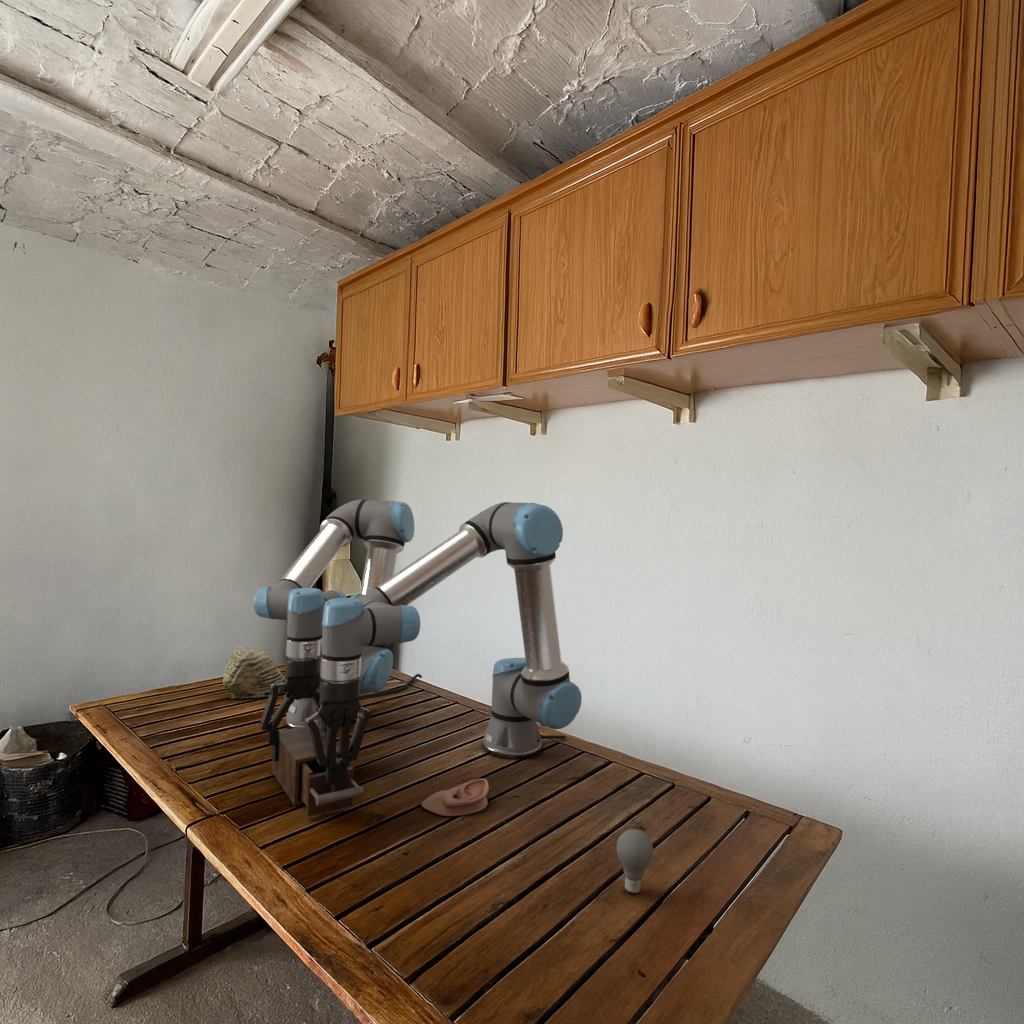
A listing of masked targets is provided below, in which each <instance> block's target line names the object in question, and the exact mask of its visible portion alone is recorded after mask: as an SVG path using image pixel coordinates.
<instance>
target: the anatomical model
mask: <svg viewBox="0 0 1024 1024" xmlns="http://www.w3.org/2000/svg"><path fill="white" fill-rule="evenodd" d="M489 787H490V785H489V782H488V780H487V779H486V778H477V779H473V780H469V781H467V782H464V783H461V784H459V785H456V786H454V787H452V788H449V789H445V790H439V791H437V792H434V793H432V794H430V795H429V796H427V797H426V798H425V799H424V800H423V801H422V802H421V807H422V808H423V809H425V810H427V811H429V812H431V813H432V814H436V815H438V816H443V817H455V816H456V817H457V816H466V815H470V814H474V813H477V812H481V811H482V810H484V809H485V808H486V807H487V806H488V797H487V795H488V794H489V791H490V790H489Z"/></svg>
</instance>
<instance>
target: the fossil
mask: <svg viewBox="0 0 1024 1024" xmlns="http://www.w3.org/2000/svg"><path fill="white" fill-rule="evenodd" d="M222 676H223V677H222V685H223V687H224V688H225V690H226V691H228V693H229V698H230V699H250V698H264V697H269V695H270V684H271V683H275V684H278V683H283V681H284V680H285V676H284V674H283V673H282V672H281V669H279V668H278V667H277V665H276V663H275V662H274V660H273V659H272V658H271V657H270V656H269V655H268V654H267V653H266V652H265V650H264V649H263V648H260V647H258V648H251V647H247V646H246V647H245V646H238V647H237V648H236V649H235V650H233V651H232V653H231V656H230V657H229V659H228V660H227V663H226V666H225V668H224V671H223V675H222ZM285 691H286V690H285V688H283V689H282V690H281V693H279V694H278V695H281V694H284V693H285Z"/></svg>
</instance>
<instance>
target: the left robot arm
mask: <svg viewBox="0 0 1024 1024" xmlns="http://www.w3.org/2000/svg"><path fill="white" fill-rule="evenodd" d="M413 513H414V512H413V511H412V508H411V507H410V505H409V504H408V503H406V502H403V501H396V500H373V499H356V500H352V501H349V502H346V503H345V504H343V505H341V506H339V507H337V508H336V509H334V510H333V511H332V512H331V513H329V515H327V516H326V517H325V518H324V519H323V521H322V522H321V523H320V526H319V532H318V533H317V534H316V535H315V536H314V537H313V539H312V540H311V541H310V543H309V544H308V545H307V546H306V547H305V548H304V550H303V551H302V552H301V553H300V554H299V555H298V557H297V558H296V560H294V562H293V563H292V564H291V566H290V567H289V568H288V569H287V570H286V572H285V573H284V574H283V575H282V577H280V579H279V580H278V581H277V582H276V584H275V585H274V586H273V587H271V586H265V587H262V588H259V589H258V590H257V591H256V593H255V595H254V596H253V602H252V603H253V605H252V606H253V610H254V613H255V614H256V616H258V617H259V618H264V619H270V620H282V621H283V620H284V621H287V623H286V624H287V626H286V631H287V632H286V645H285V646H286V647H285V656H286V657H287V658H286V659H285V672H284V675H285V676H284V677H285V680H284V681H283V683H278V684H275V683H271V684H270V695H269V696H268V698H267V702H266V704H265V707H264V710H263V713H262V716H261V719H260V721H259V724H258V725H259V727H260V729H261V730H262V731H267V744H268V745H269V747H271V758H272V761H273V760H274V761H278V755H279V731H280V729H278V727H279V726H280V724H281V722H282V721H283V719H284V717H285V726H286V728H287V729H292V728H298V727H304V726H308V725H307V724H306V722H305V721H304V719H305V718H306V717H307V716H309V717H311V716H312V715H313V714H314V713H316V712H317V707H318V705H319V702H320V681H321V680H322V678H321V676H320V674H321V657H322V621H323V611H324V606H325V603H326V602H327V601H328V600H330V599H334V598H348V596H347V594H345V593H344V592H342V591H341V590H335V589H333V590H327V591H323V590H321V589H320V588H315V587H313V586H314V585H315V584H316V582H317V581H318V580H319V578H320V577H321V576H322V574H323V573H324V572H325V570H326V569H327V567H328V566H329V565H330V564H331V562H332V561H333V559H334V558H335V557H336V555H337V554H338V553H339V552H340V550H341V549H342V548H344V547H346V546H348V545H349V544H350V543H351V542H352V541H354V540H363V545H364V546H365V548H366V549H367V553H366V558H365V564H364V568H363V574H362V580H361V586H360V591H359V594H360V595H361V594H364V595H365V594H366V593H368V592H369V591H371V590H372V589H374V588H376V587H377V586H379V585H380V584H382V583H383V582H385V581H386V580H388V579H389V578H391V577H392V576H394V575H395V574H396V567H397V561H398V555H399V554H400V553H401V552H402V551H404V550H405V543H409V542H411V541H412V540H413V538H414V536H415V519H414V514H413ZM388 647H389V644H383V645H372V646H363V647H362V650H361V669H360V676H359V677H358V678H359V680H360V693H366V694H361V695H359V700H360V699H365V698H373V697H380V696H384V695H390V694H394V693H399V692H400V691H404V690H406V689H407V688H408V687H409V686H410V684H412V683H413V682H414V681H415V680H416V679H417V678H419V679H422V678H423V676H422V674H421V673H416V674H415V675H414V676H413V677H411V679H410V680H409V681H407V683H406V684H405V685H403V686H400V687H399V688H394V689H390V690H384V691H381V690H382V689H383V688H384V687H385V685H386V684H387V683H388V681H389V679H390V677H391V675H392V671H393V668H394V660H393V659H394V654H393V651H392V650H390V649H388ZM283 688H285V691H286V693H285V694H284V696H283V700H282V701H281V702H280V704H279V706H278V708H277V709H276V711H275V712H274V710H275V708H276V704H277V702H278V699H279V695H280V694H282V693H281V690H282V689H283ZM279 693H280V694H279ZM319 722H320V723H319V725H320V726H321V728H322V729H323V730H324V731H325V732H326V733H327V729H326V724H325V723H324V721H323V720H322V719H321V717H320V718H319Z"/></svg>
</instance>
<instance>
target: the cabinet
mask: <svg viewBox="0 0 1024 1024" xmlns="http://www.w3.org/2000/svg"><path fill="white" fill-rule="evenodd" d="M318 728H319V731H320V735H321V740H322V745H323V749H324V754H325V758H326V737H327V733H326V732H325V731H324V730H323V729H322V728H321V726H320V725H318ZM336 756H337V757H338V758H339V743H337V742H336ZM313 760H316V756H315V752H314V747H313V742H312V738H311V733H310V728H309V727H308V726H304V727H298V728H292V729H289V728H287V729H282V730H280V729H279V755H278V761H274V760H273V759H272V775H273V776H274V777H275V779H276V781H277V782H278V783H279V785H280V786H281V788H282V790H283V791H284V793H285V794H286V796H287V798H288V799H289V800H290V802H291V803H292V805H293V806H300V805H303V804H305V803H304V802H303V800H302V799H301V798H300V796H299V795H298V793H299V766H300V763H303V762H308V761H313Z"/></svg>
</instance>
